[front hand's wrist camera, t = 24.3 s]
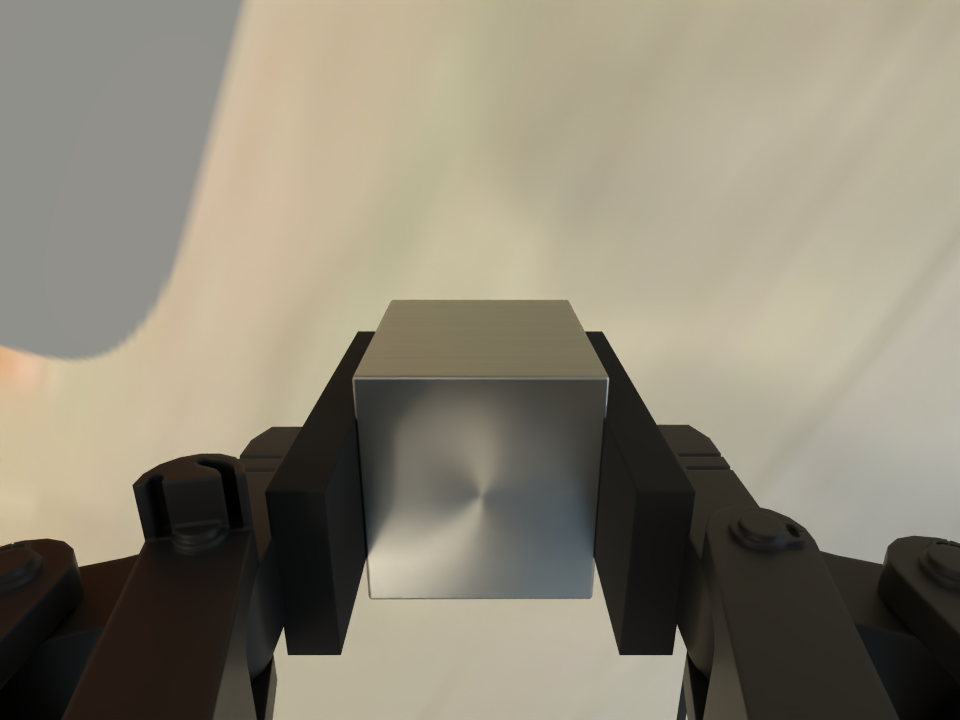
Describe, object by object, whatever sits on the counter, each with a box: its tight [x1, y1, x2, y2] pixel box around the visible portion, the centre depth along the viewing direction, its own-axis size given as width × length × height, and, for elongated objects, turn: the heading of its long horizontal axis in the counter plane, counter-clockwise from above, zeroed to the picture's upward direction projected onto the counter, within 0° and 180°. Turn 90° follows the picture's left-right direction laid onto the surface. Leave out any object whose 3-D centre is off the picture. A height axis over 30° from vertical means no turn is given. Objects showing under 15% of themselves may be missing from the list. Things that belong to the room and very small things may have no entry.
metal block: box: [352, 300, 609, 599], centre depth 13 cm, size 4×4×5 cm
